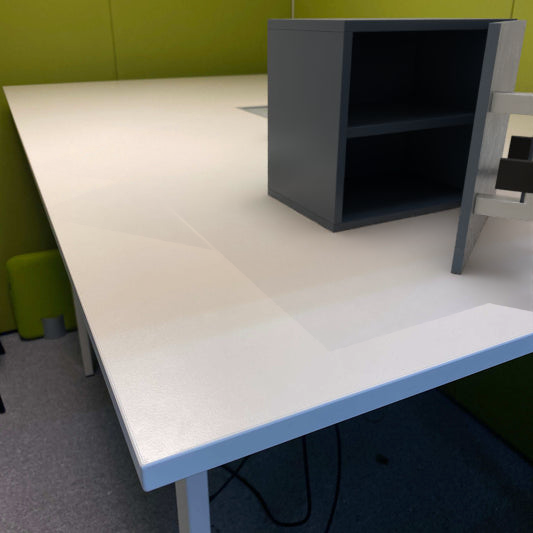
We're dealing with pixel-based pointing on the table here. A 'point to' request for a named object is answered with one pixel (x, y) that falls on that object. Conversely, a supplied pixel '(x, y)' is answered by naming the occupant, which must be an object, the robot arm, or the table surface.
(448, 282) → the table surface
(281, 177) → the cabinet
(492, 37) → the door
